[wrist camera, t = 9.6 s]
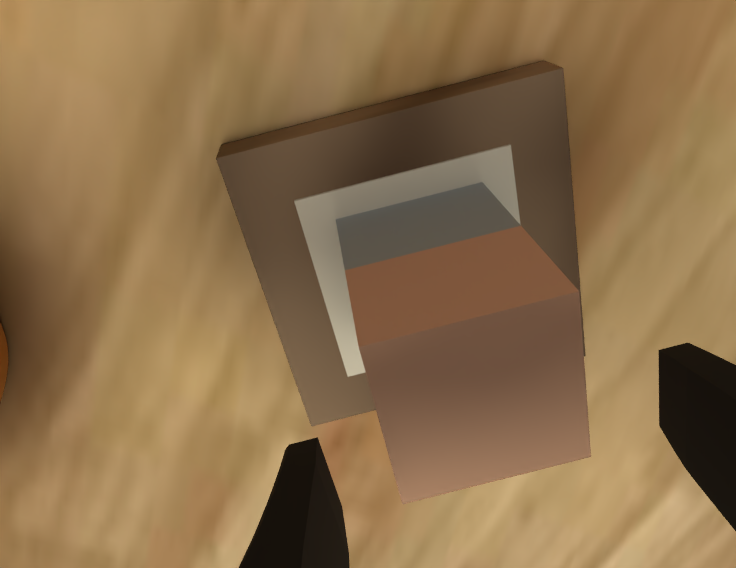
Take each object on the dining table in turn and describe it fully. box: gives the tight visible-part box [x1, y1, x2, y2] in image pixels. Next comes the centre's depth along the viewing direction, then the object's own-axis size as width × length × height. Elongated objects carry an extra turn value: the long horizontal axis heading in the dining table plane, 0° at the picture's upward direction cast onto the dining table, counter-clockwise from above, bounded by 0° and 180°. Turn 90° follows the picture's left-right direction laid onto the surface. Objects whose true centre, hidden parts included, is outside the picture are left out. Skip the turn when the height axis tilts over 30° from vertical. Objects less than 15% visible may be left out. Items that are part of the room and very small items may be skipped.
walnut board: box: [216, 61, 585, 426], centre depth 20 cm, size 10×10×2 cm
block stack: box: [336, 182, 591, 504], centre depth 16 cm, size 4×4×7 cm
